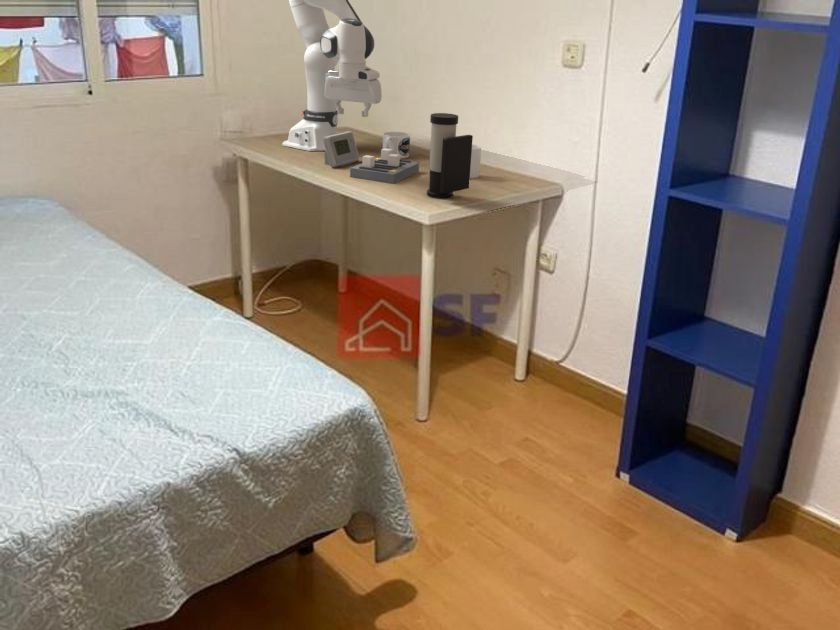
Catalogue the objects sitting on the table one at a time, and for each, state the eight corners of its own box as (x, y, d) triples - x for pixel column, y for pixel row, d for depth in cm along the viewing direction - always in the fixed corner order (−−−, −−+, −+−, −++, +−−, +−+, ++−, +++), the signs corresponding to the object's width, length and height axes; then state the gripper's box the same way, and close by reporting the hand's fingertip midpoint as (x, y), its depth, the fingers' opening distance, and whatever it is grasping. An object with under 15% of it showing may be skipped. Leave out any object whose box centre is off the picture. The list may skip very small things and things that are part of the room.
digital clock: (332, 169, 282) (332, 138, 278) (315, 164, 288) (315, 134, 284) (365, 163, 294) (366, 133, 289) (348, 158, 299) (348, 129, 295)
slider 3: (387, 165, 276) (387, 155, 274) (391, 164, 278) (391, 153, 277) (395, 166, 275) (395, 156, 273) (399, 165, 277) (399, 154, 276)
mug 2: (442, 173, 284) (443, 144, 280) (457, 170, 290) (459, 141, 286) (468, 180, 277) (471, 149, 273) (483, 176, 282) (486, 147, 278)
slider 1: (362, 167, 272) (362, 156, 270) (366, 165, 274) (366, 155, 273) (370, 168, 271) (370, 157, 269) (374, 166, 273) (374, 156, 272)
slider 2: (380, 159, 284) (381, 149, 282) (384, 158, 286) (384, 148, 285) (388, 160, 283) (388, 150, 281) (392, 159, 285) (392, 149, 284)
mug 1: (389, 151, 314) (389, 130, 311) (414, 155, 310) (415, 133, 307) (373, 157, 303) (374, 135, 300) (399, 161, 299) (400, 139, 296)
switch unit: (350, 176, 273) (350, 166, 271) (377, 165, 291) (378, 155, 289) (393, 183, 267) (393, 172, 266) (418, 171, 285) (419, 161, 284)
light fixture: (442, 189, 262) (447, 111, 253) (468, 196, 256) (474, 116, 246) (416, 195, 254) (420, 115, 245) (443, 202, 247) (448, 120, 238)
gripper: (320, 70, 266) (321, 113, 272) (374, 75, 258) (374, 119, 263) (330, 69, 272) (331, 111, 277) (384, 73, 263) (383, 116, 268)
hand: (352, 115), depth 270 cm, fingers open, 8 cm apart
